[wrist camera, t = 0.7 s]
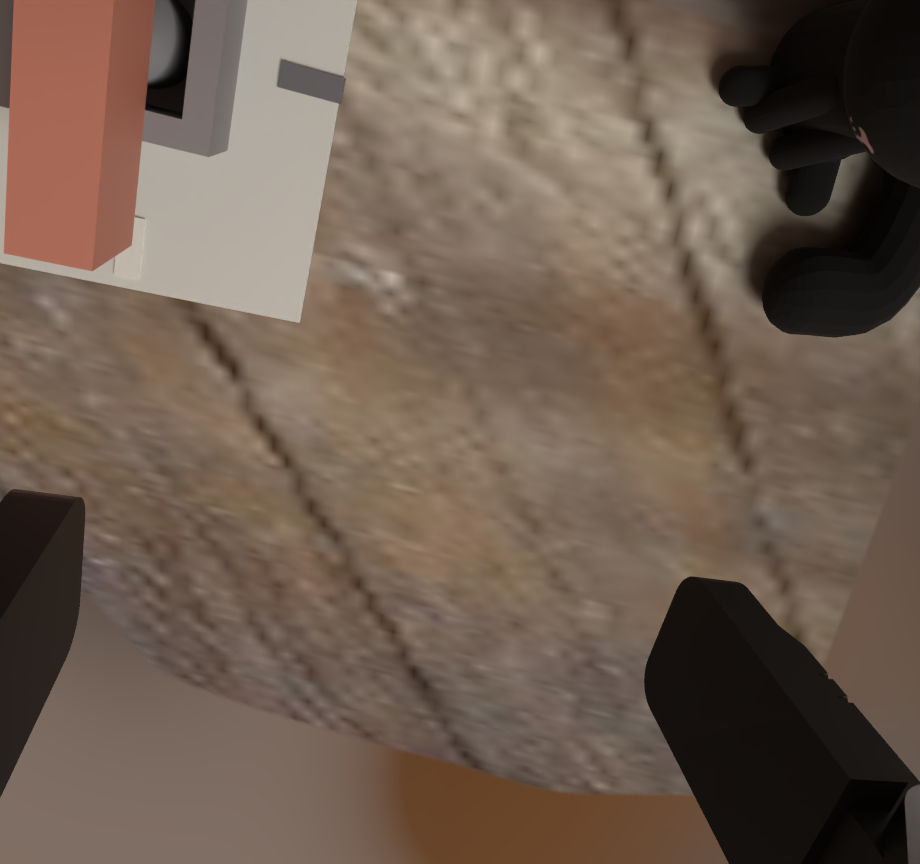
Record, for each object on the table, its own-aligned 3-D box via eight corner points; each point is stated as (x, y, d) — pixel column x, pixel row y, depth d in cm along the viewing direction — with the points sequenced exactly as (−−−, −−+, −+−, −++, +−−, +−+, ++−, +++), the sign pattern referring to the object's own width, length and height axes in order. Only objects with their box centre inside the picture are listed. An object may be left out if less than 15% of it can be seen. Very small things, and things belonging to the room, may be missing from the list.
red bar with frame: (67, -209, 26) (-82, -394, 17) (266, -141, 28) (235, -275, 18) (44, 199, 31) (-82, 236, 21) (215, 236, 33) (169, 286, 23)
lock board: (-51, -348, 25) (-159, -480, 20) (392, -185, 29) (408, -258, 23) (-58, 244, 32) (-140, 271, 26) (302, 316, 36) (298, 354, 30)
